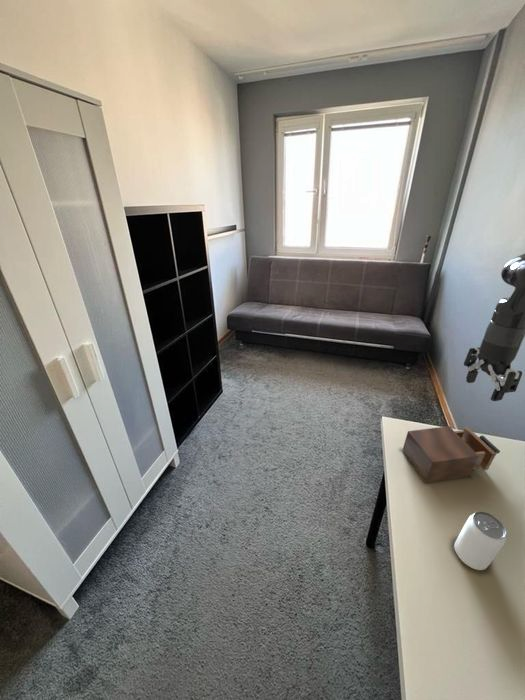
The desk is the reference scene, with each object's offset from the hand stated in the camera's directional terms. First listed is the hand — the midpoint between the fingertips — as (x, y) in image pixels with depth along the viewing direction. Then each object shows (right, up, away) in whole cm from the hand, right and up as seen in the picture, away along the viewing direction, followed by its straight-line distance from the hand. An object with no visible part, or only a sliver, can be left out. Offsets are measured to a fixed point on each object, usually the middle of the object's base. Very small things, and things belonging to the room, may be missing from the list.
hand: (481, 390), depth 78 cm
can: (-14, -35, -15) cm, 41 cm away
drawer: (-1, -22, +7) cm, 23 cm away
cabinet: (-9, -23, +7) cm, 26 cm away
